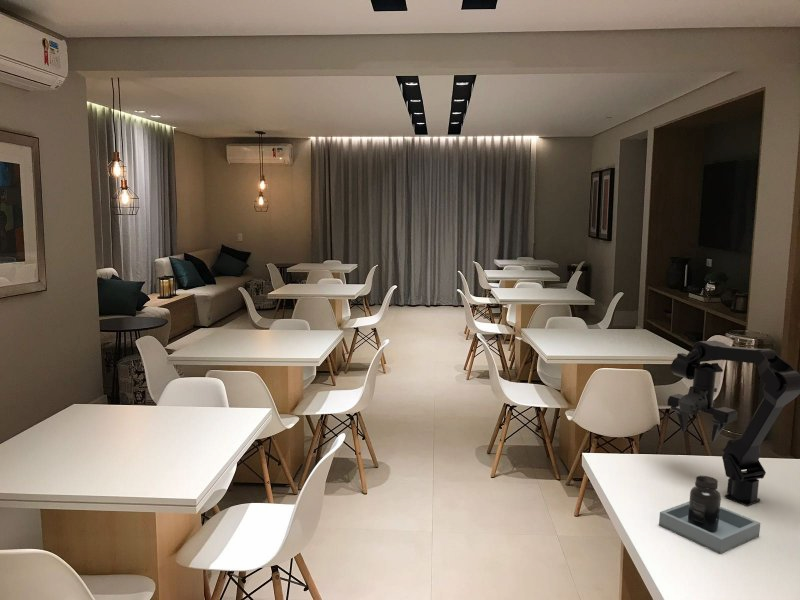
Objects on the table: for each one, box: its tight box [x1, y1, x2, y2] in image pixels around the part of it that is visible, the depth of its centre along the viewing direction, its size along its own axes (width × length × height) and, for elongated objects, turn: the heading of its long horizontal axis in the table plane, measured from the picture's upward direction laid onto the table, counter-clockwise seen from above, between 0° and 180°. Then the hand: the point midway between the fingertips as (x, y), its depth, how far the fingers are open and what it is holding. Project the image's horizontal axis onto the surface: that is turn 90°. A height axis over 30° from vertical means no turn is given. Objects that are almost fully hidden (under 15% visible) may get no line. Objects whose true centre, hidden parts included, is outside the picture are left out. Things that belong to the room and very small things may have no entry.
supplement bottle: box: [688, 475, 722, 532], centre depth 163 cm, size 7×7×12 cm
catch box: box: [658, 501, 761, 555], centre depth 163 cm, size 16×16×4 cm
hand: (698, 436), depth 195 cm, fingers open, 9 cm apart
